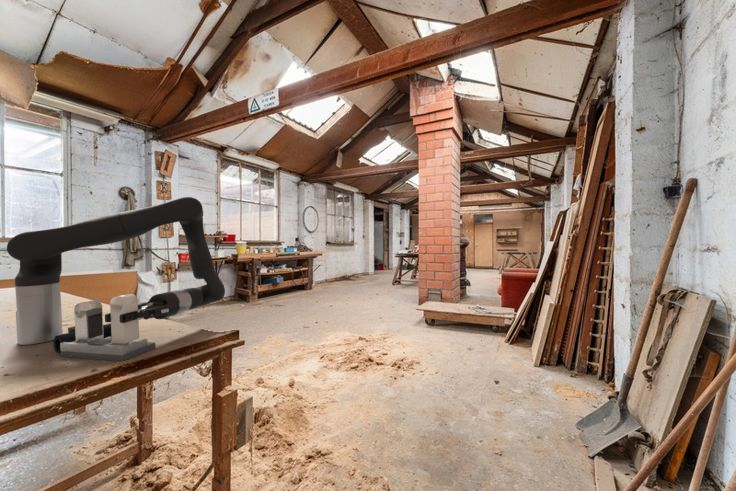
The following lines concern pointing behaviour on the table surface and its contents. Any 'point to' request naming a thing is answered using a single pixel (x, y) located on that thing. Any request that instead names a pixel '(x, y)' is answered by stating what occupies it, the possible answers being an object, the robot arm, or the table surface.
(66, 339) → the pipe connector
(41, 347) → the table surface
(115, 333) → the finger
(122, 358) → the bracket
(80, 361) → the table surface
